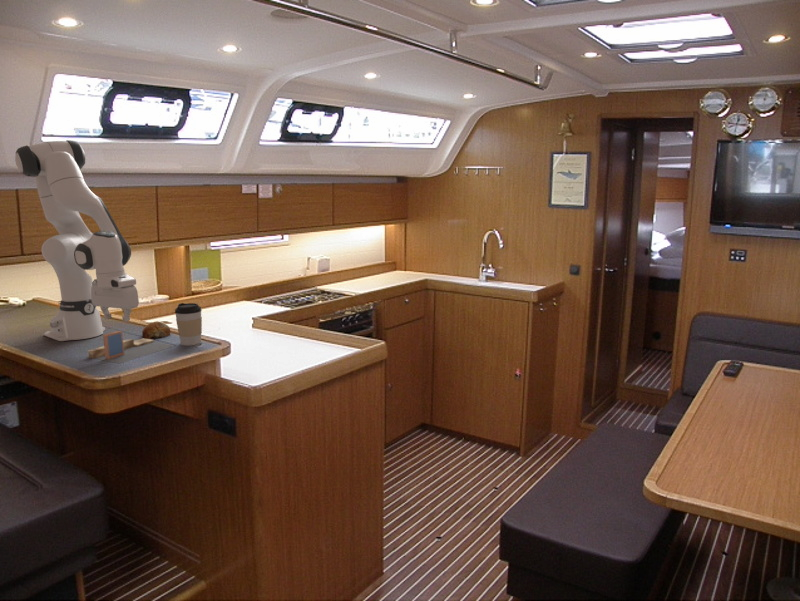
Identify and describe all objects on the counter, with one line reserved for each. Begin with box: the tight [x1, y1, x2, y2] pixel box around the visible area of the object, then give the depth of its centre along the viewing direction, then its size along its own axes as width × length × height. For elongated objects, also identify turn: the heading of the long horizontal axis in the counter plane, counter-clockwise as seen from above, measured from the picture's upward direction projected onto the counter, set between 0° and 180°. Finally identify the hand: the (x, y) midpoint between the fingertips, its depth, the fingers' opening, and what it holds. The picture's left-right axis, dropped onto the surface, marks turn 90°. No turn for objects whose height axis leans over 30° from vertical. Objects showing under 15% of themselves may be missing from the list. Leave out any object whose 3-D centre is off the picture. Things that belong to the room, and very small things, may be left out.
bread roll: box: [141, 321, 172, 340], centre depth 240 cm, size 10×10×8 cm
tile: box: [102, 330, 124, 359], centre depth 213 cm, size 2×6×8 cm, turn 151°
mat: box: [93, 341, 177, 365], centre depth 219 cm, size 16×23×1 cm
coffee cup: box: [174, 302, 203, 348], centre depth 227 cm, size 9×9×15 cm
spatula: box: [87, 337, 155, 359], centre depth 222 cm, size 23×6×2 cm, turn 151°
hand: (117, 320), depth 219 cm, fingers open, 8 cm apart
